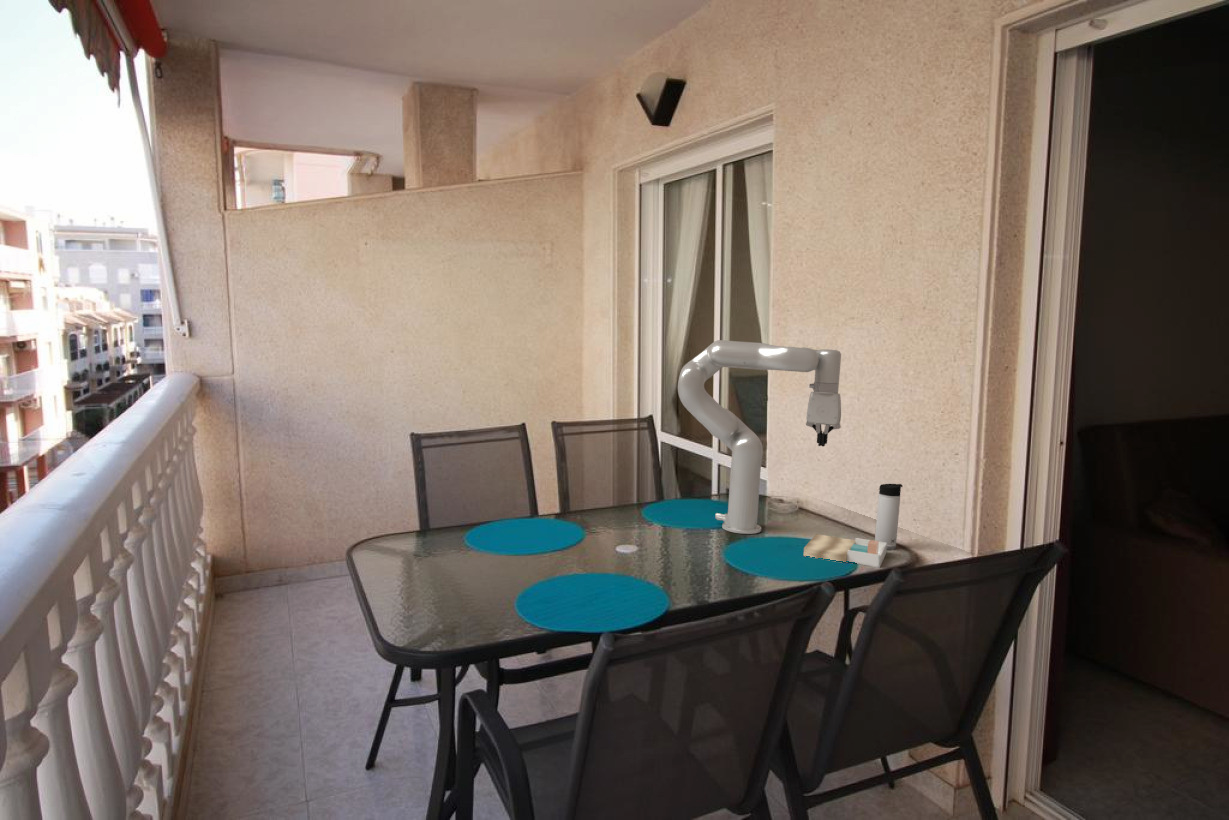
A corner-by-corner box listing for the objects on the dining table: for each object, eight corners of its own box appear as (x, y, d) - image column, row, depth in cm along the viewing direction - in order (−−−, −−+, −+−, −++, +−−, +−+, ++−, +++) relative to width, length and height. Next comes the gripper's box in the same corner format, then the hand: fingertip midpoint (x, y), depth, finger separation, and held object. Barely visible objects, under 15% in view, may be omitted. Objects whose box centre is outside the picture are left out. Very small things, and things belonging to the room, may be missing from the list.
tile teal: (850, 555, 224) (851, 547, 224) (852, 552, 228) (853, 543, 228) (866, 558, 222) (867, 549, 222) (868, 554, 226) (869, 546, 226)
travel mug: (898, 551, 233) (904, 486, 231) (875, 549, 235) (881, 484, 233) (895, 545, 239) (900, 482, 237) (873, 543, 241) (878, 480, 239)
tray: (846, 562, 219) (847, 550, 218) (854, 549, 233) (855, 537, 233) (879, 567, 215) (880, 555, 215) (886, 554, 229) (887, 542, 229)
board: (803, 556, 223) (804, 547, 223) (815, 542, 239) (816, 534, 239) (846, 563, 218) (846, 554, 218) (855, 548, 234) (856, 540, 234)
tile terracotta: (868, 543, 221) (877, 544, 220) (870, 539, 226) (879, 541, 224) (866, 558, 222) (875, 560, 221) (868, 554, 226) (877, 556, 225)
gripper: (799, 387, 243) (795, 444, 245) (848, 390, 237) (843, 449, 239) (804, 386, 250) (800, 442, 252) (852, 389, 243) (847, 447, 245)
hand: (821, 445), depth 245 cm, fingers closed
